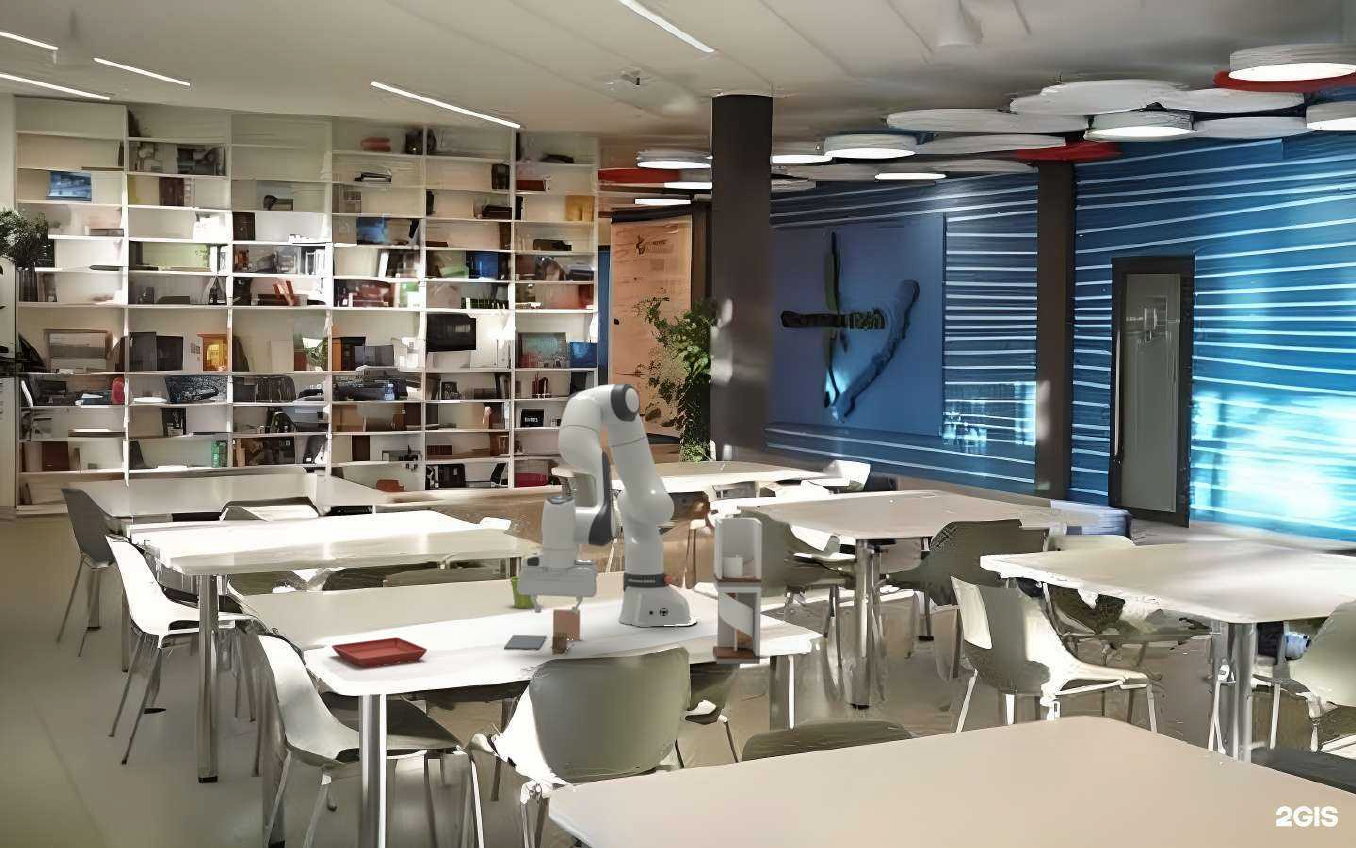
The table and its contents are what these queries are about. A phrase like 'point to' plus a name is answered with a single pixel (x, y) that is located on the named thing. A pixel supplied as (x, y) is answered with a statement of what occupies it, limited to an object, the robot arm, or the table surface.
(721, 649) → the display case
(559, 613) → the tile
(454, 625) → the table surface
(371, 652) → the plant saucer
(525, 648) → the mat
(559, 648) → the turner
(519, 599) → the plant pot
